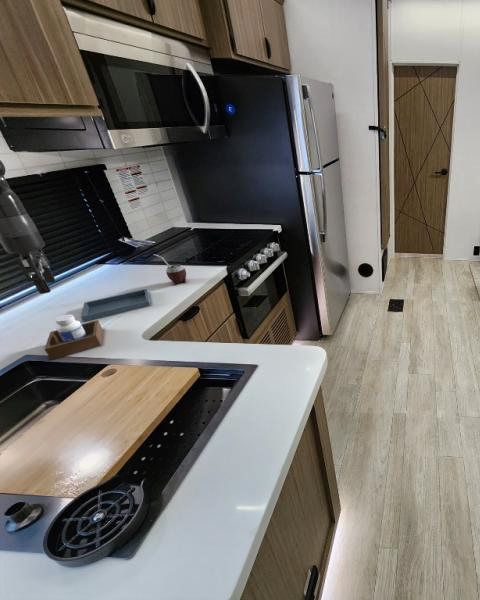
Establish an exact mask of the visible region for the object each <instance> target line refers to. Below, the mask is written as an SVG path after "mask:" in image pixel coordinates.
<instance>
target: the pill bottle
mask: <svg viewBox="0 0 480 600" xmlns="http://www.w3.org/2000/svg"><path fill="white" fill-rule="evenodd" d="M54 321H55V323H56V324H57V326H56V330H57V331H58V332H59V334H60V336H61V337H62V339H63V341H62V342H63V343H66V342H69V341H73V340H77V339H81V338H84V337H88V336H89V335H87V334H86V332H85V331H84V329H83V327H82V325H81V324H82V323H81V321H79V320H76V318H75V316H74V315H73V314H64V315H61V316H58V317H56V318H55V320H54Z"/></svg>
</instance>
